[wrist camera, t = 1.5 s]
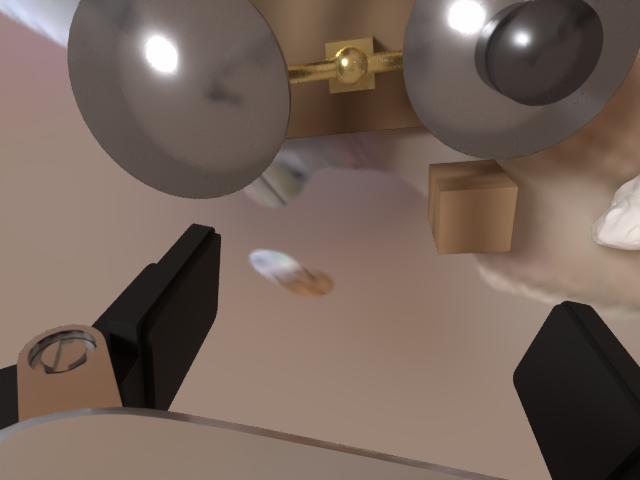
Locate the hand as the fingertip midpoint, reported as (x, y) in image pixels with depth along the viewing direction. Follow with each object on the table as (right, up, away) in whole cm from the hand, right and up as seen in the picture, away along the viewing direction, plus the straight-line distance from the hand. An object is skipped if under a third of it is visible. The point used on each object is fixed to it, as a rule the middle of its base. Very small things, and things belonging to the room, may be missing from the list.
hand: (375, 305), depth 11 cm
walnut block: (+10, +6, +22) cm, 25 cm away
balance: (+1, +14, +16) cm, 22 cm away
